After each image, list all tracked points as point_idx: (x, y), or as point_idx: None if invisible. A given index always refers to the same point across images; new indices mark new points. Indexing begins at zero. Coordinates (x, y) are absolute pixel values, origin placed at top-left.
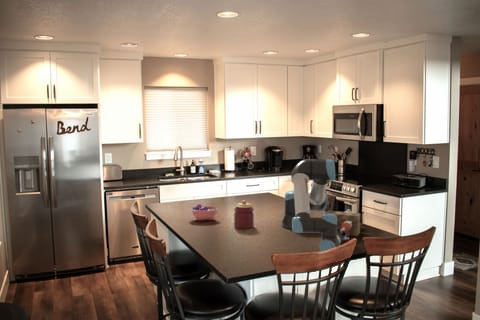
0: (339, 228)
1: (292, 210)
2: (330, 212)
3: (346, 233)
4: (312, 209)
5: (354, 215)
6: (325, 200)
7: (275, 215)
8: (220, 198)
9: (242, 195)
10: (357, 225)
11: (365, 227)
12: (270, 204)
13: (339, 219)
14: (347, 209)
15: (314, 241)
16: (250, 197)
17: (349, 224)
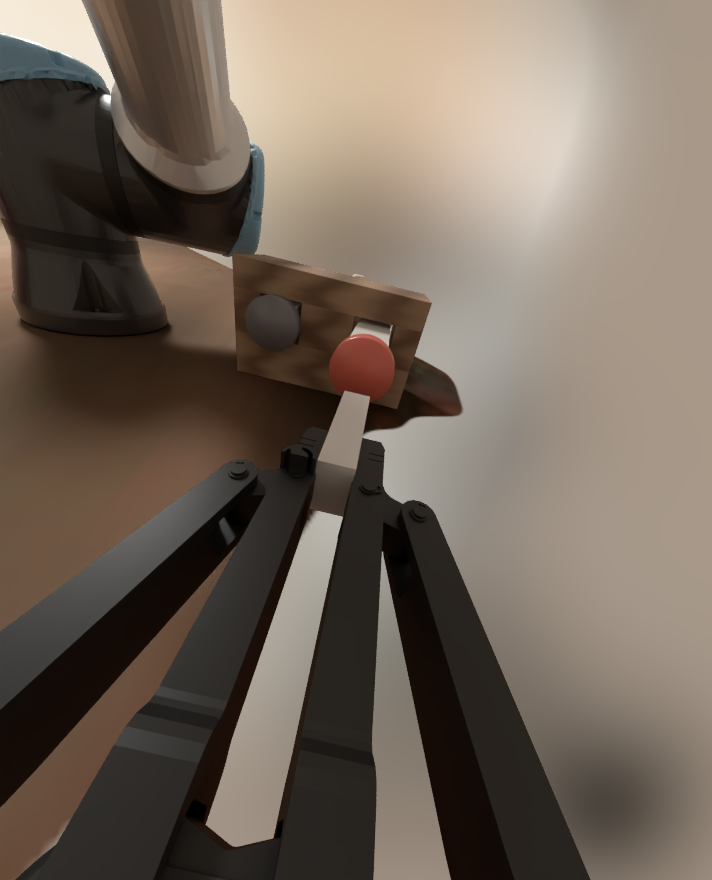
0: (314, 361)
1: (25, 206)
2: (272, 260)
3: (471, 660)
4: (180, 234)
5: (409, 296)
6: (250, 183)
7: None
8: None
9: None
10: (412, 358)
11: None
12: (149, 254)
13: (319, 310)
14: (354, 274)
15: (39, 513)
16: None
17: (391, 356)
